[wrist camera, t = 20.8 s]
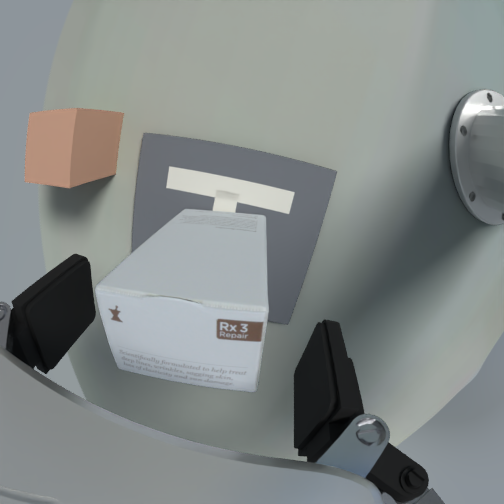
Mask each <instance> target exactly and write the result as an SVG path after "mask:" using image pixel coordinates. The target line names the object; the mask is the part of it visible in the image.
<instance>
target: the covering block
mask: <svg viewBox="0 0 504 504" xmlns="http://www.w3.org/2000/svg"><path fill="white" fill-rule="evenodd" d="M123 116H124V113H121V112H113V111H104V110H94V109H83V108H71V109H59V110H49V111H41V112H32V113H30V116H29V123H28V132H27V143H26V158H25V182H29V183H37V184H44V185H51V186H58V187H65V188H72V187H75V186H78V185H81V184H84V183H87V182H91V181H94V180H97V179H101V178H104V177H108V176H111V175H115V174H116V167H117V158H118V149H119V141H120V134H121V128H122V122H123Z"/></svg>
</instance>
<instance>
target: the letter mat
mask: <svg viewBox="0 0 504 504" xmlns="http://www.w3.org/2000/svg"><path fill="white" fill-rule="evenodd" d="M336 174H337V171H334V170H331V169H328V168H324V167H321V166H317V165H314V164H310V163H306V162H303V161H299V160H295V159H291V158H287V157H283V156H279V155H275V154H270V153H266V152H262V151H257V150H252V149H248V148H243V147H238V146H233V145H227V144H222V143H216V142H210V141H204V140H198V139H191V138H184V137H177V136H169V135H161V134H152V133H144V134H143V140H142V146H141V153H140V160H139V167H138V175H137V184H136V193H135V204H134V217H133V233H132V252H133V251H135V250H136V249H137V248H138V247H139V246H140V245H142V244H143V243H144V242H145V241H146V240H147V239H149V238H150V237H151V236H152V235H153V234H155V233H156V232H157V231H158V230H159V229H161V228H162V227H163V226H164V225H165V224H166V223H168V222H169V221H170V220H171V219H173V218H174V217H175V216H176V215H178V214H179V213H180V212H181V211H183V210H184V209H196V210H209V211H222V212H234V213H245V214H256V215H264V216H265V217H266V239H267V285H268V305H269V313H268V320H267V321H271V322H276V323H281V324H287V325H288V324H289V321H290V318H291V316H292V313H293V310H294V307H295V305H296V302H297V299H298V296H299V293H300V290H301V288H302V285H303V282H304V279H305V276H306V273H307V270H308V267H309V264H310V261H311V258H312V255H313V252H314V249H315V245H316V242H317V239H318V236H319V233H320V229H321V226H322V223H323V219H324V216H325V213H326V209H327V206H328V203H329V199H330V196H331V192H332V188H333V185H334V181H335V178H336Z"/></svg>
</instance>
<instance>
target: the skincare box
mask: <svg viewBox="0 0 504 504" xmlns="http://www.w3.org/2000/svg"><path fill="white" fill-rule="evenodd" d="M95 294H96V298H97V303H98V307H99V311H100V316H101V319H102V322H103V326H104V329H105V333H106V336H107V339H108V342H109V346H110V349H111V352H112V354H113V357H114V359H115V362H116V364H117V367H118V368H119V369H121V370H125V371H129V372H133V373H137V374H142V375H146V376H150V377H155V378H159V379H164V380H169V381H175V382H180V383H185V384H191V385H198V386H204V387H212V388H219V389H227V390H237V391H246V392H255V391H257V388H258V383H259V375H260V368H261V360H262V353H263V346H264V340H265V334H266V327H267V320H268V313H269V305H268V285H267V239H266V217H265V216H264V215H256V214H245V213H234V212H222V211H209V210H196V209H184V210H183V211H181V212H180V213H179V214H178V215H176V216H175V217H174V218H173V219H171V220H170V221H169V222H168V223H166V224H165V225H164V226H163V227H162V228H161V229H159V230H158V231H157V232H156V233H155V234H153V235H152V236H151V237H150V238H149V239H147V240H146V241H145V242H144V243H143V244H142V245H140V246H139V247H138V248H137V249H136V250H135V251H133V252H132V253H131V254H130V255H129V256H128V257H127V258H126V259H124V260H123V261H122V262H121V263H120V264H119V265H118V266H117V267H116V268H115V269H113V270H112V271H111V272H110V273H109V274H108V275H107V276H106V277H105V278H104V279H103V280H101V281H100V282H99V283H98V284H97V286H96V287H95Z"/></svg>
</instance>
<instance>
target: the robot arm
mask: <svg viewBox="0 0 504 504" xmlns="http://www.w3.org/2000/svg"><path fill="white" fill-rule="evenodd" d="M449 148H450V162H451V169H452V175H453V178H454V182H455V186H456V188H457V191H458V193H459V196H460V198H461V200H462V202H463V203H464V205H465V207H466V208H467V209H468V210H469V212H470V213H471V214H472V215H473V216H475V217H476V218H477V219H479V220H481V221H483V222H485V223H487V224H491V225H499V224H503V223H504V96H502V95H501V94H500V93H498V92H496V91H493V90H489V89H480V90H475V91H472V92H470V93H468V94H467V95H466V96H465V97H464V98H462V100H461V101H460V103H459V104H458V106H457V108H456V111H455V113H454V116H453V120H452V124H451V129H450V141H449ZM12 304H13V307H14V308H13V309H12V310H11V308H10V306H9V305H8V304H7V303H5V302H0V504H445V503H444V502H443V501H442V500H441V498H440V497H439V496H438V495H437V493H436V492H435V491H434V489H433V488H431V489H430V490H429V489H428V488H427V486H428V481H429V479H428V474H427V472H426V471H425V469H424V468H423V467H422V466H420V465H419V464H417V463H416V462H415V461H413V460H412V459H410V458H409V457H408V456H406V455H405V454H403V453H402V452H401V451H399V450H398V449H397V448H395V447H394V446H393V445H391V444H390V443H389V442H388V441H389V439H390V431H389V428H388V426H387V425H386V423H385V422H384V421H383V420H382V419H381V418H379V417H377V416H375V415H371V414H364V409H363V404H362V399H361V395H360V390H359V386H358V382H357V377H356V373H355V369H354V365H353V362H352V359H351V358H348V356H347V352H346V348H345V344H344V340H343V336H342V332H341V328H340V324H339V323H338V322H335V321H330V320H323V321H322V323H320V322H318V323H317V325H316V327H315V329H314V331H313V334H312V336H311V338H310V340H309V342H308V344H307V347H306V349H305V351H304V353H303V355H302V357H301V359H300V361H299V363H298V365H297V367H296V370H295V373H294V448H297V449H298V456H307V462H304V461H296V460H288V459H281V458H273V457H266V456H259V455H253V454H248V453H242V452H237V451H232V450H227V449H222V448H218V447H213V446H209V445H205V444H201V443H197V442H194V441H190V440H186V439H183V438H180V437H176V436H173V435H170V434H167V433H164V432H161V431H158V430H155V429H152V428H149V427H147V426H144V425H141V424H139V423H136V422H133V421H131V420H128V419H126V418H124V417H121V416H119V415H117V414H114V413H112V412H110V411H108V410H105V409H103V408H101V407H99V406H97V405H95V404H93V403H91V402H89V401H87V400H85V399H83V398H81V397H79V396H77V395H75V394H74V393H71V392H70V391H68V390H66V389H65V388H63V387H61V386H59V385H57V384H56V383H54V382H52V381H51V380H50V379H48V378H46V377H45V376H43V375H42V374H40V373H39V372H37V371H35V370H34V367H35V366H36V367H37V369H39V370H40V371H42V372H44V373H45V374H47V372H48V371H49V370H50V369H53V368H54V367H55V366H56V365H57V364H58V362H59V361H60V360H61V359H62V357H63V356H64V355H65V354H66V352H67V351H68V350H69V349H70V347H71V346H72V345H73V344H74V343H75V341H76V340H77V339H78V338H79V337H80V335H81V334H82V333H83V332H84V331H85V330H86V328H87V327H88V326H89V325H90V324H91V323H92V322H93V320H94V318H95V315H96V311H95V304H94V297H93V288H92V279H91V267H90V263H89V262H88V259H87V258H86V257H84V256H81V255H78V254H73V255H72V256H70V257H69V258H68V259H66V260H65V261H63V262H62V263H61V264H59V265H58V266H56V267H55V268H54V269H52V270H51V271H50V272H48V273H47V274H46V275H44V276H43V277H42V278H40V279H39V280H38V281H36V282H35V283H34V284H33V285H32V286H30V287H29V288H27V289H26V290H25V291H24V292H22V294H20V295H19V296H18V297H16V298H15V299H14V300H13V301H12Z"/></svg>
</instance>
